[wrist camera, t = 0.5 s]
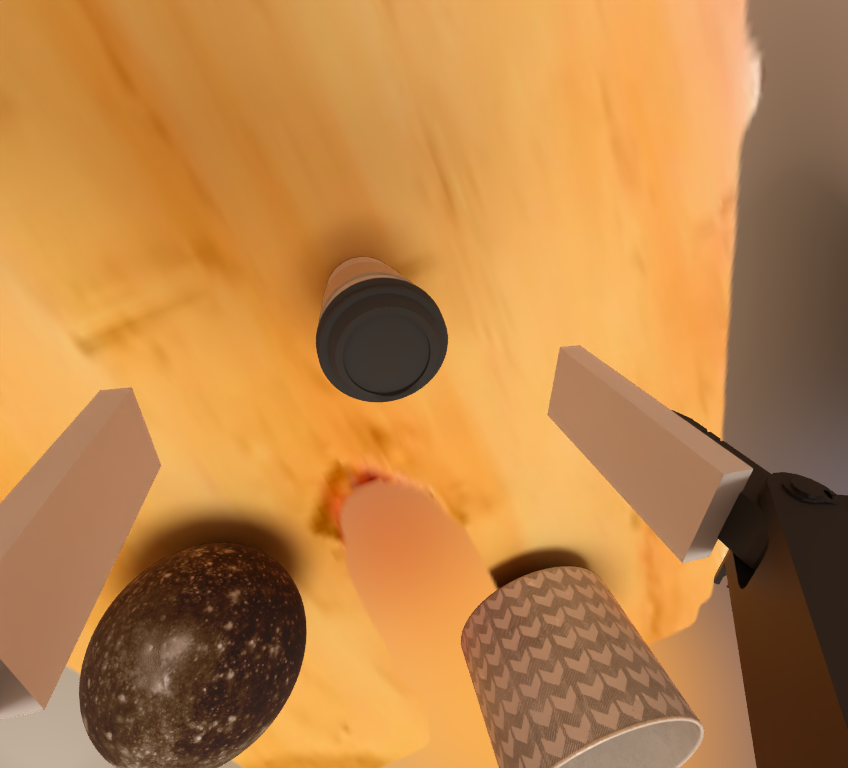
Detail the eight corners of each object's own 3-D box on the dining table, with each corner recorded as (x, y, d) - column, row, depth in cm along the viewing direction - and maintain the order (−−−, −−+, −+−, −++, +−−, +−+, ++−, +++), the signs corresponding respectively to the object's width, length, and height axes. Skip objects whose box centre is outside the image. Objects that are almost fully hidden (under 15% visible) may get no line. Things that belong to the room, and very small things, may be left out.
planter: (601, 529, 66) (730, 694, 46) (581, 621, 79) (677, 784, 58) (451, 567, 62) (520, 769, 42) (455, 659, 74) (510, 849, 54)
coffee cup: (301, 254, 37) (297, 306, 24) (400, 234, 38) (447, 273, 25) (329, 346, 41) (337, 431, 28) (416, 325, 42) (462, 398, 30)
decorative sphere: (90, 585, 48) (-31, 822, 31) (199, 475, 45) (130, 672, 28) (241, 634, 58) (211, 833, 41) (339, 547, 55) (352, 724, 37)
